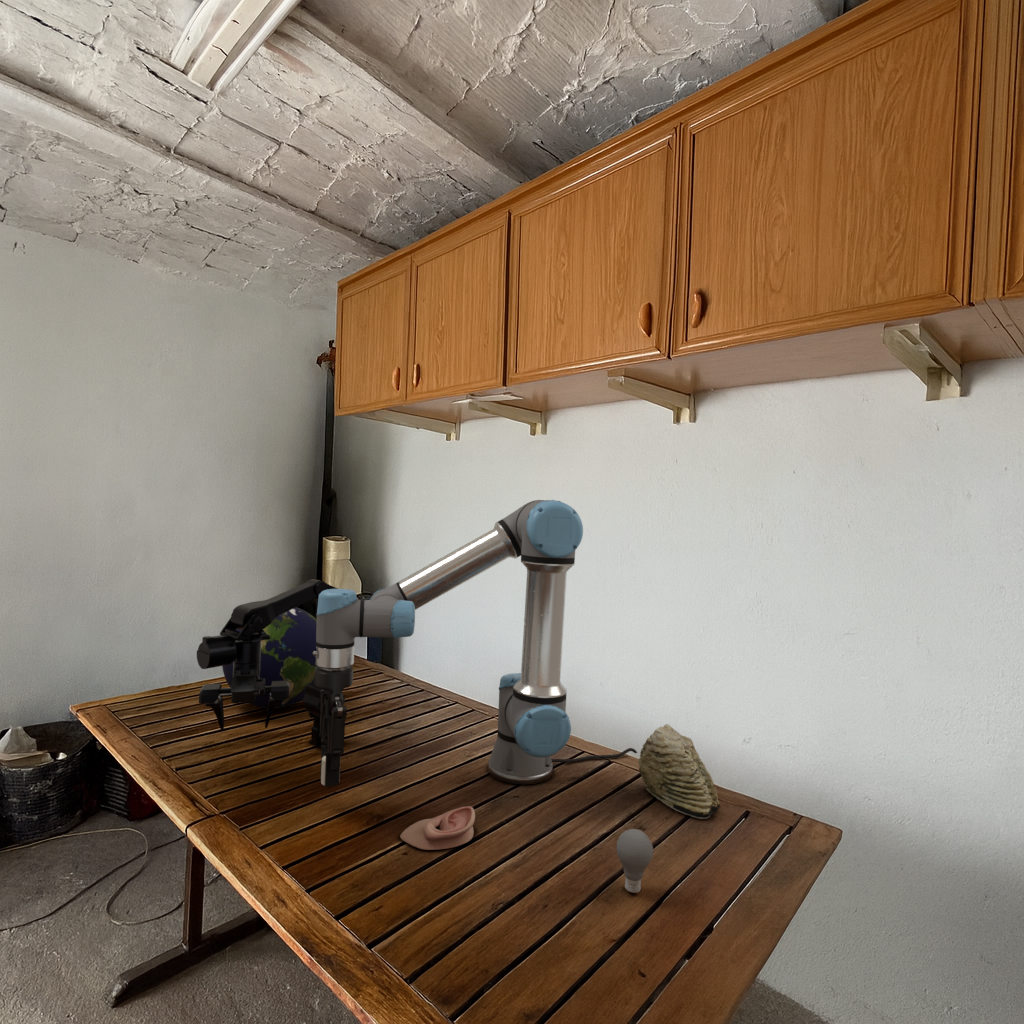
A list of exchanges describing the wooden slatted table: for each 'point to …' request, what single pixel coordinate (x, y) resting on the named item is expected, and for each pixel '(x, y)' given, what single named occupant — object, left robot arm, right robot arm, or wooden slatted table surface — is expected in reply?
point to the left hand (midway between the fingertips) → (244, 729)
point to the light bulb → (634, 857)
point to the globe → (286, 656)
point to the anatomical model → (442, 830)
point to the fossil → (677, 774)
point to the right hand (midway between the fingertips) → (329, 780)
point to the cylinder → (323, 770)
